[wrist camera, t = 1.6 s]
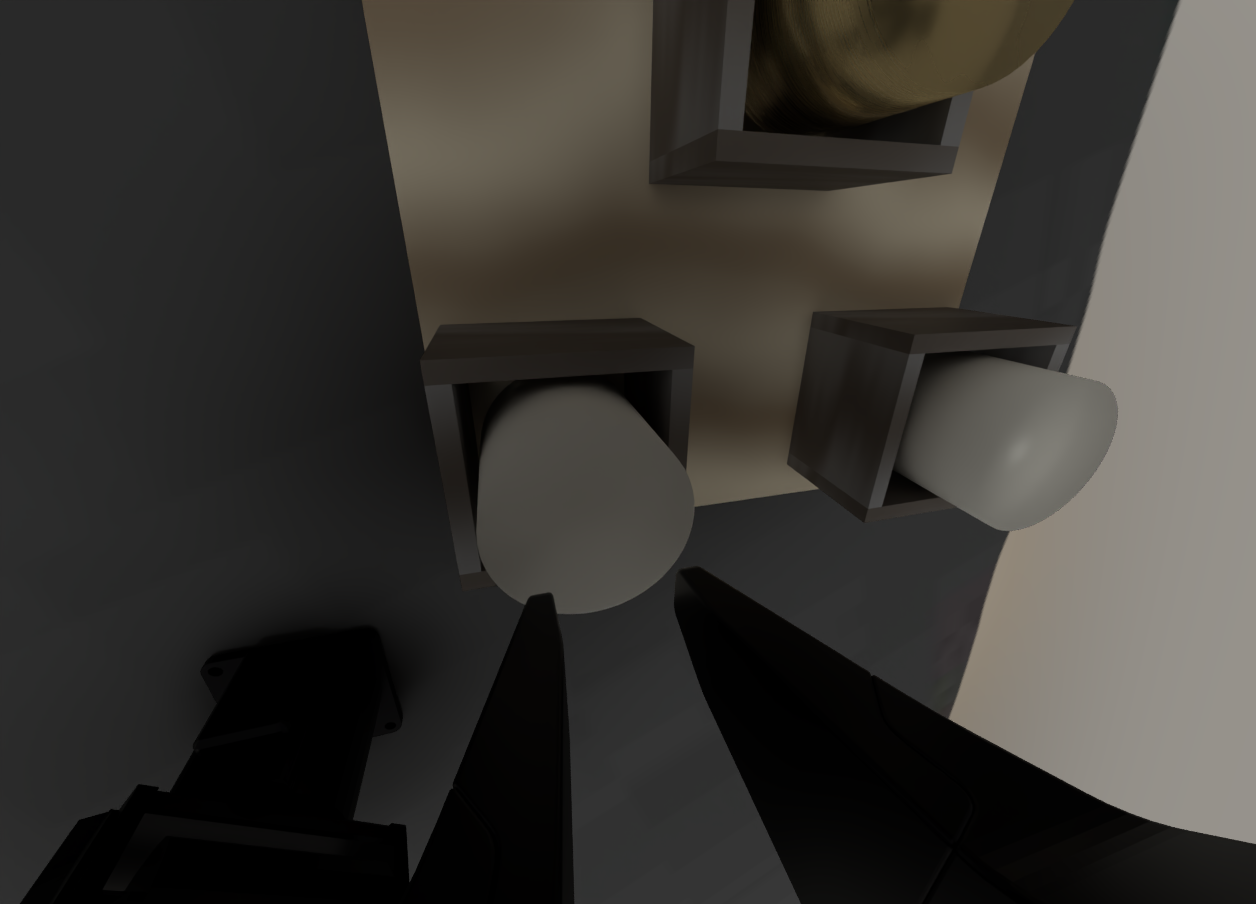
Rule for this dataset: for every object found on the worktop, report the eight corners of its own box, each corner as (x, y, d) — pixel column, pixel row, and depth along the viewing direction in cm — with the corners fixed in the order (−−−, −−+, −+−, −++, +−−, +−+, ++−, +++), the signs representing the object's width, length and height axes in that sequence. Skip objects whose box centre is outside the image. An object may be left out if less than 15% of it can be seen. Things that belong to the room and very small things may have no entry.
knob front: (634, 499, 16) (687, 593, 12) (490, 518, 15) (491, 631, 11) (637, 361, 14) (702, 415, 10) (469, 371, 13) (460, 437, 9)
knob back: (944, 457, 20) (1073, 519, 15) (847, 470, 19) (957, 541, 14) (983, 341, 18) (1145, 374, 13) (876, 347, 16) (1015, 386, 12)
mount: (885, 463, 25) (1003, 529, 19) (460, 520, 20) (449, 636, 14) (1022, -34, 16) (1302, -177, 11) (340, -173, 11) (186, -601, 5)
